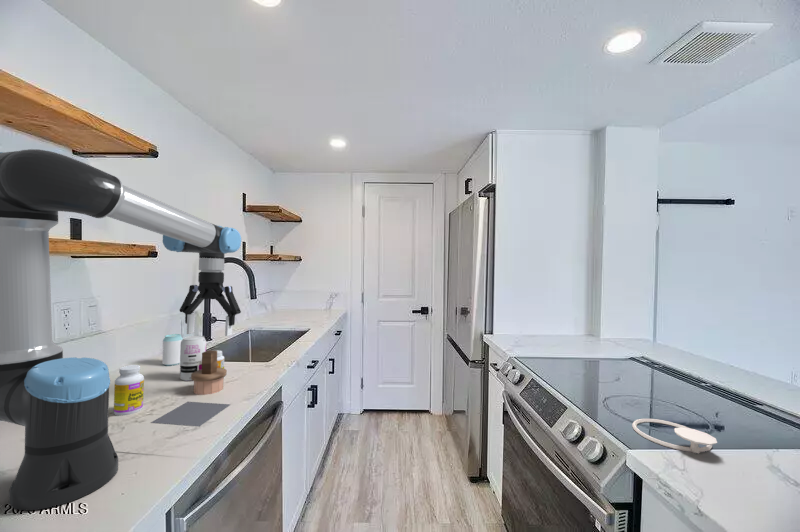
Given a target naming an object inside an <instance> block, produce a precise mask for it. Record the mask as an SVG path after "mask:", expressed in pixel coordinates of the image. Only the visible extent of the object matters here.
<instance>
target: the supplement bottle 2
mask: <svg viewBox="0 0 800 532" xmlns="http://www.w3.org/2000/svg"><path fill="white" fill-rule="evenodd" d="M216 351H217V368H224V369H225V356H224V355H223V350H216Z"/></svg>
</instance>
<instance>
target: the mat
mask: <svg viewBox="0 0 800 532" xmlns="http://www.w3.org/2000/svg"><path fill="white" fill-rule="evenodd" d="M229 406H231V403H229V404H228V403H216V402H201V401H199V402H198V401H186V402H184V403H182V404H181V405H179V406H178V407H176V408H174V409H172V410H171V411H168V412H166V413H165V414H163V415H162V416H160V417H157V418H156V419H154V420H153V421H151V422H150V424H160V425H174V426H175V425H176V426H189V427H199V428H200V427H201V426H202V425H204V424H205V423H207V422H208V421H210V420H211V419H212V418H214V417H215V416H217V415H218V414H220V413H221V412H223V411H224V410H225V409H227V408H228V407H229Z"/></svg>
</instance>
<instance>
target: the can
mask: <svg viewBox="0 0 800 532" xmlns="http://www.w3.org/2000/svg"><path fill="white" fill-rule="evenodd" d="M183 338H184V337H182V334H181V333H180V334H179V333H175V334H174V333H173V334H167V335H164V338H163V339H162V356H161V357H162V359H161V361H162V362H161V363H162V365H165V366H168V367H171V366H172V365H173V366H178V365H180V364H179V363H180V348H181V341H182V339H183ZM177 364H178V365H177Z"/></svg>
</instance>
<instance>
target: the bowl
mask: <svg viewBox="0 0 800 532" xmlns="http://www.w3.org/2000/svg"><path fill="white" fill-rule="evenodd" d="M224 380H225V379H224V377H223V378H220V379H217V380H212V381H194V380H193V394H195V395H198V396H199V395H200V396H203V395H204V396H205V395H212V394H216V393H219V392H222V391H223V390H224Z"/></svg>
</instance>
